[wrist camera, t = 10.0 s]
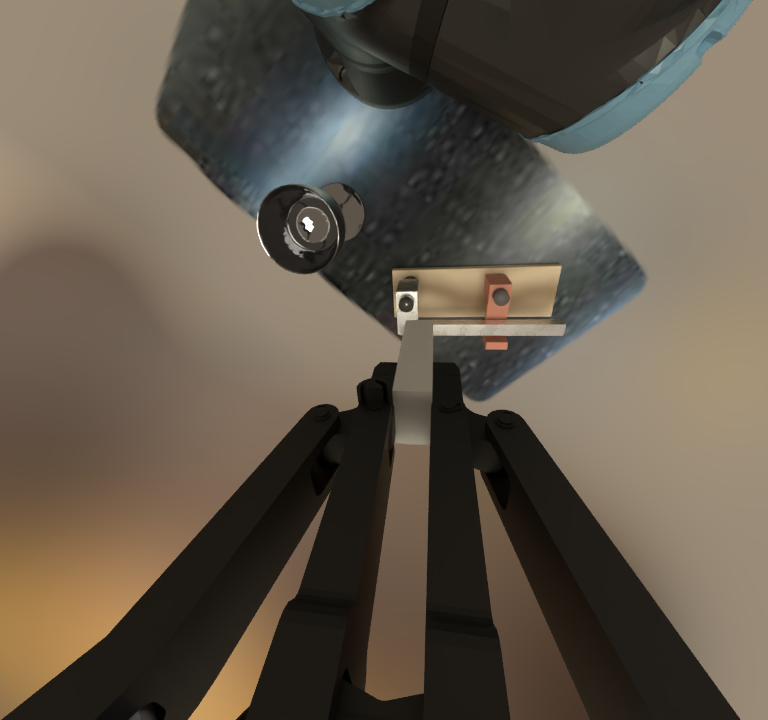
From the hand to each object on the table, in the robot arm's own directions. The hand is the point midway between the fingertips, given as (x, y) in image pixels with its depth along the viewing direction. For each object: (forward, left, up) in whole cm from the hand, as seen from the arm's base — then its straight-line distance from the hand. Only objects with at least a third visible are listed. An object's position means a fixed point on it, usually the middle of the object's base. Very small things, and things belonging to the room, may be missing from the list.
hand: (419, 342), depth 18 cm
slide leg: (+8, +9, -28) cm, 30 cm away
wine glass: (-4, -12, -30) cm, 32 cm away
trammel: (+7, +6, -28) cm, 30 cm away
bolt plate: (+7, +6, -29) cm, 31 cm away
